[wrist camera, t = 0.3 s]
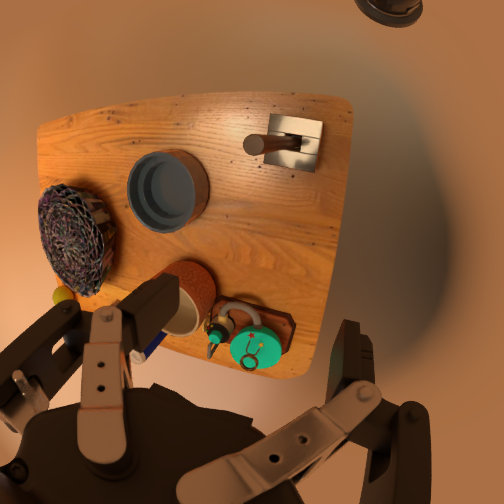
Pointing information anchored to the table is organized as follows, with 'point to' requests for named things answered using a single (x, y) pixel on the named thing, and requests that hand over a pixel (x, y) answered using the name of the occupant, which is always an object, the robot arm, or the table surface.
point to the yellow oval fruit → (62, 294)
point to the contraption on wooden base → (249, 332)
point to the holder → (309, 144)
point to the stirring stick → (269, 143)
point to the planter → (190, 297)
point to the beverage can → (147, 349)
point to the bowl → (167, 190)
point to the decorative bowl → (77, 237)
